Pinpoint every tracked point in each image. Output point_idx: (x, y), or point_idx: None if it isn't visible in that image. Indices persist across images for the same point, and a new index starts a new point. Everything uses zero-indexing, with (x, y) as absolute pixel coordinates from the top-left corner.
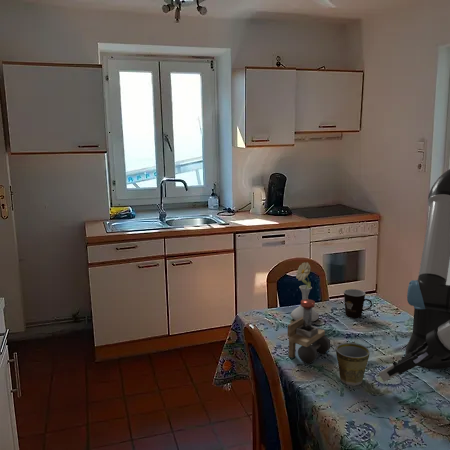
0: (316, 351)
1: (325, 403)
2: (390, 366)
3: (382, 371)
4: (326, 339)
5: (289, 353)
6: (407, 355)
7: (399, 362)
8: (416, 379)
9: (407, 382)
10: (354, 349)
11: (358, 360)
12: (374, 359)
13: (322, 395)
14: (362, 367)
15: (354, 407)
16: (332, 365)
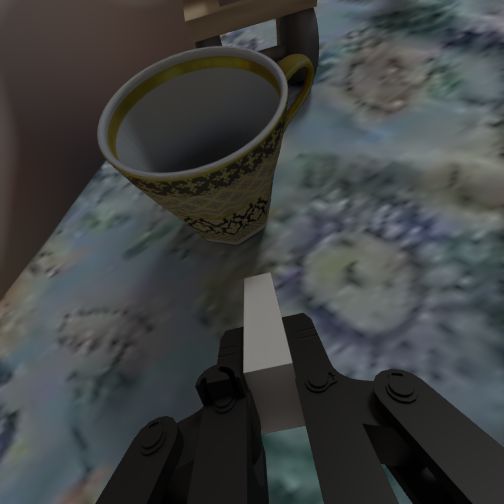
0: None
1: (62, 255)
2: (246, 336)
3: (245, 294)
4: (305, 28)
5: None
6: (454, 486)
7: (205, 471)
8: (493, 372)
9: (418, 356)
10: (269, 100)
11: (132, 182)
12: (429, 164)
13: (96, 224)
14: (192, 214)
15: (87, 325)
16: None
